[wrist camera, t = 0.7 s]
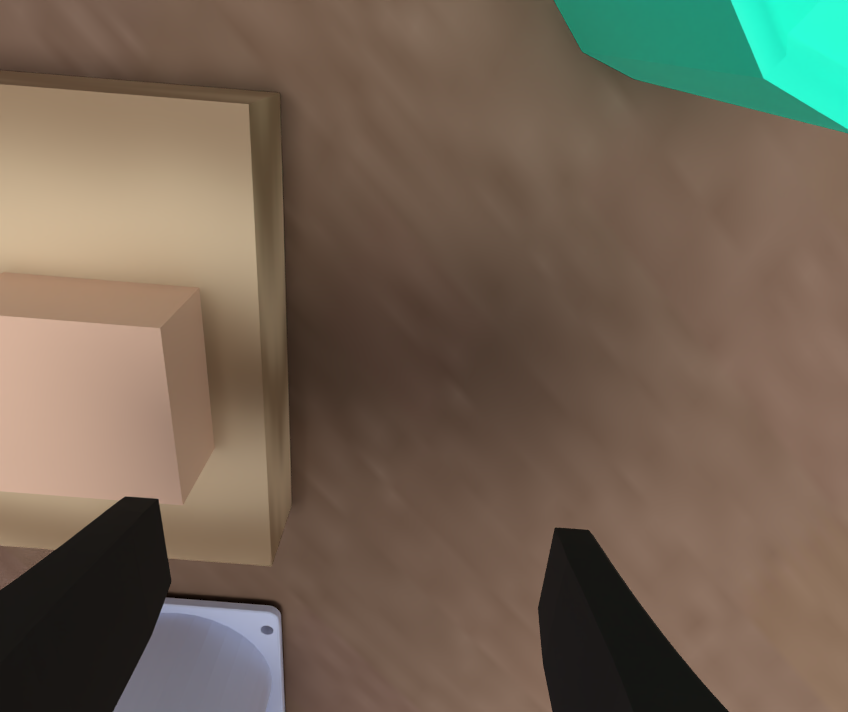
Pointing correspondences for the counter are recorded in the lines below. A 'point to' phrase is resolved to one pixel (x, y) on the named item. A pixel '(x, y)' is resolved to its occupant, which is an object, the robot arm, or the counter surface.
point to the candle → (727, 50)
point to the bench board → (164, 273)
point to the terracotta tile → (102, 388)
